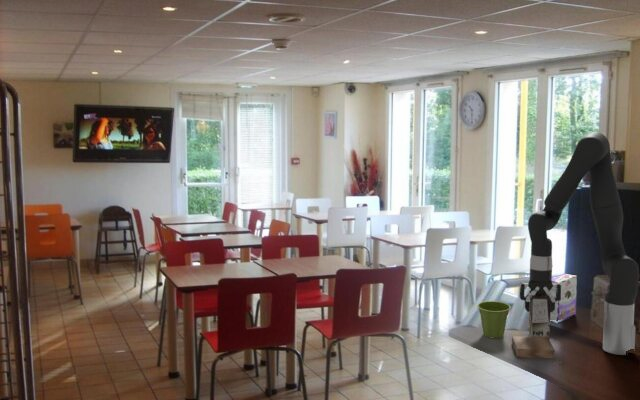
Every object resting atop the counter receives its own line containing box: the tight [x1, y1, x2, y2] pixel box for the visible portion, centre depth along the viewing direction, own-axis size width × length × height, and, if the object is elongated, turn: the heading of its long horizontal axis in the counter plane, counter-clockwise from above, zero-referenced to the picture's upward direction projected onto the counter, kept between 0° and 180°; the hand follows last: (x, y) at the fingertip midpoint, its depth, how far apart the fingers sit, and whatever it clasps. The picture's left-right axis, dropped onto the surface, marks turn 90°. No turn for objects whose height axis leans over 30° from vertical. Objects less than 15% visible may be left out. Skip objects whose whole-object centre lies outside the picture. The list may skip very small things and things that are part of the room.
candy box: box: [549, 273, 578, 321], centre depth 260 cm, size 14×6×16 cm, turn 130°
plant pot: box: [476, 300, 512, 339], centre depth 243 cm, size 12×12×11 cm
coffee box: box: [528, 294, 551, 340], centre depth 239 cm, size 9×6×16 cm
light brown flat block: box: [511, 335, 556, 359], centre depth 228 cm, size 12×12×3 cm
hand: (539, 311), depth 238 cm, fingers open, 7 cm apart
